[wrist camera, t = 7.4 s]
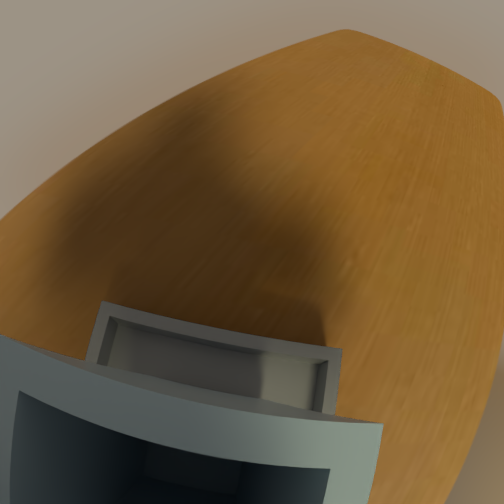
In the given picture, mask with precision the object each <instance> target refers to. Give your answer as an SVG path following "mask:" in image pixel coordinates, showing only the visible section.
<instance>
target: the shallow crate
mask: <svg viewBox="0 0 504 504" xmlns="http://www.w3.org/2000/svg"><path fill="white" fill-rule="evenodd" d="M341 357H342V349H340V348H332V347H325V346H318V345H311V344H304V343H298V342H291V341H285V340H279V339H273V338H267V337H262V336H256V335H251V334H245V333H240V332H235V331H230V330H225V329H220V328H215V327H210V326H205V325H200V324H196V323H191V322H187V321H182V320H178V319H173V318H169V317H165V316H160V315H156V314H152V313H148V312H144V311H140V310H136V309H132V308H128V307H124V306H121V305H117V304H113V303H109V302H106V301H102V302H101V305H100V308H99V311H98V315H97V318H96V321H95V325H94V328H93V332H92V335H91V339H90V342H89V346H88V350H87V354H86V357H85V361H87V362H91V363H95V364H99V365H103V366H108V367H112V368H116V369H121V370H125V371H130V372H135V373H140V374H145V375H150V376H154V377H158V378H162V379H165V380H169V381H173V382H178V383H182V384H186V385H191V386H195V387H200V388H204V389H209V390H214V391H219V392H224V393H229V394H235V395H240V396H246V397H252V398H259V399H265V400H269V401H273V402H277V403H281V404H285V405H289V406H293V407H298V408H302V409H306V410H311V411H316V412H320V413H325V414H330V415H335V409H336V402H337V394H338V385H339V377H340V367H341Z"/></svg>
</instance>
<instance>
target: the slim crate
mask: <svg viewBox="0 0 504 504" xmlns="http://www.w3.org/2000/svg"><path fill="white" fill-rule="evenodd" d="M382 430H383V423H376V422H370V421H363V420H357V419H351V418H346V417H340V416H335V415H330V414H325V413H320V412H316V411H311V410H306V409H302V408H298V407H293V406H289V405H285V404H281V403H277V402H273V401H269V400H265V399H259V398H252V397H246V396H240V395H235V394H229V393H224V392H219V391H214V390H209V389H204V388H200V387H195V386H191V385H186V384H182V383H178V382H173V381H169V380H165V379H162V378H158V377H154V376H150V375H145V374H140V373H135V372H130V371H125V370H121V369H116V368H112V367H108V366H103V365H99V364H95V363H91V362H87V361H84V360H80V359H76V358H72V357H69V356H65V355H62V354H58V353H55V352H52V351H48V350H45V349H42V348H39V347H36V346H33V345H29V344H26V343H23V342H21V341H18V340H15V339H12V338H9V337H6V336H4V335H1V334H0V504H367V503H368V499H369V495H370V490H371V486H372V482H373V477H374V473H375V468H376V463H377V458H378V453H379V447H380V442H381V436H382Z"/></svg>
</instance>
